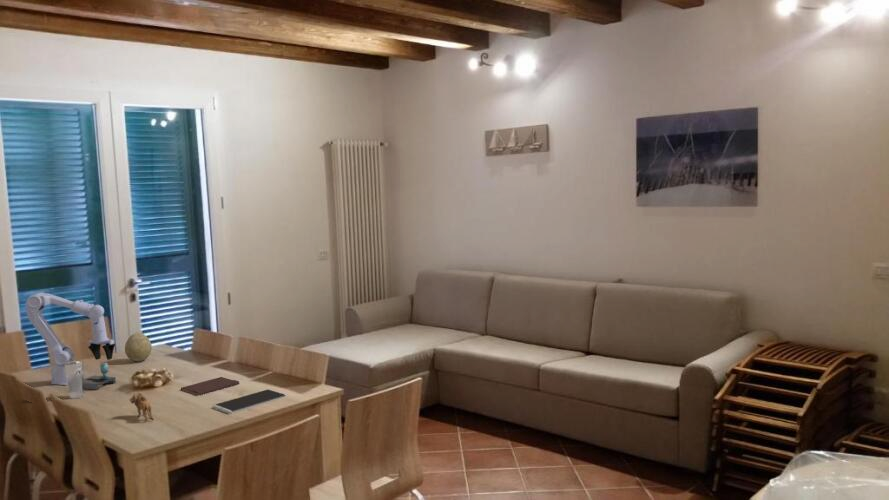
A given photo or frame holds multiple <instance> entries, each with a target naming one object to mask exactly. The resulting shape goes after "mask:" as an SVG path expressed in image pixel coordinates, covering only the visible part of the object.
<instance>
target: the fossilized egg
mask: <svg viewBox="0 0 889 500" xmlns="http://www.w3.org/2000/svg"><path fill="white" fill-rule="evenodd" d="M152 348H153V346H152V342H151V340H150V339H149V338H148V336H147V335H146V334H144V333H142V332H135V333H132V334H131V335H130V337H128V338H127V340H126V342H125V346H124V353H125V355H126V357H127V358H128V359H129V360H131V361H133V362H137V363H138V362H143V361H145V360H146V359H147V358H148V357H150V355H151V354H152Z"/></svg>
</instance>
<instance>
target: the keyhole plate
mask: <svg viewBox="0 0 889 500" xmlns="http://www.w3.org/2000/svg"><path fill="white" fill-rule="evenodd" d="M104 384H110V385H111V384H112V385H115V384H117V381H116V376H114V377H113V376H110V377H106V376H103V375H91V376H88V377H85V378H83V390H90V391H91V390H92V391H98V390H99V389H100V388H99V386H101V385H104Z"/></svg>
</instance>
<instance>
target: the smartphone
mask: <svg viewBox="0 0 889 500" xmlns="http://www.w3.org/2000/svg"><path fill="white" fill-rule="evenodd" d="M286 396H288V395H287V394H286V393H282V392H280V391H276V390H273V389H264V390H262V391H257V392H254V393H251V394H247V395H242V396H240V397H237V398H232V399H229V400H226V401H222V402H219V403H215V404H212V409H214V410H216V409H217V410H216V411H219V410H220V411H219V412H222V413H225V414H227V413H228V415H232V413H233V414H235V413H238V412H242V411H245V409H246V410H249V409H251V408H255V407H258V406H261V404H262V405H264V403H265V404H268V403H271V402H275V401H277V399H278V400H280V399H284V398H286ZM248 408H249V409H248Z"/></svg>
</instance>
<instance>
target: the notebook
mask: <svg viewBox="0 0 889 500" xmlns="http://www.w3.org/2000/svg"><path fill="white" fill-rule="evenodd" d="M238 384H239V385H240V381H239V380H236V379H232V378H231V379H230V378H227V377H224V376H220V377H215V378H211V379H209V380H208V379H207V380H205V381H201V382H197V383H193V384H189V385H186V386H182V387H180V391H183V392H186V393H190V394H193V395H196V396H198V395H200V396H203V394H204V395H208V394H211V393H213V392H218V391H221V390H224V388H225V389H228V388H231V386H232V387H235V386H238ZM217 390H218V391H217ZM210 392H211V393H210Z"/></svg>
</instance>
